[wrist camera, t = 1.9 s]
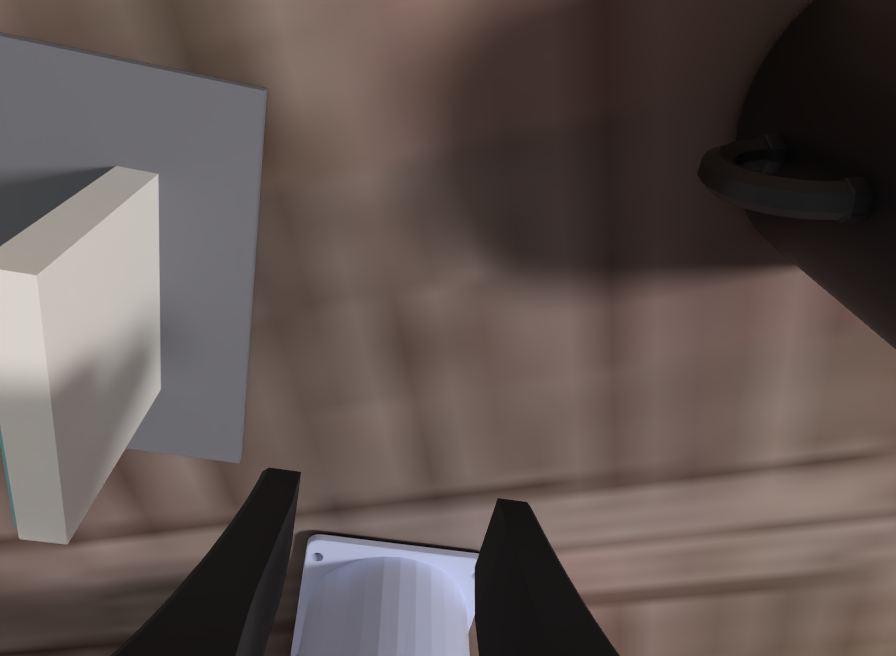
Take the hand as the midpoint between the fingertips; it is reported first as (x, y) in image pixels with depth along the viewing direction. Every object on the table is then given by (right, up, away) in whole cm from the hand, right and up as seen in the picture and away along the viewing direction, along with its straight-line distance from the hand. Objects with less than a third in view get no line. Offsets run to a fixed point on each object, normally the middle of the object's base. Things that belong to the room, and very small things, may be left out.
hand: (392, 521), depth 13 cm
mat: (-12, +6, +8) cm, 16 cm away
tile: (-9, +5, +8) cm, 13 cm away
